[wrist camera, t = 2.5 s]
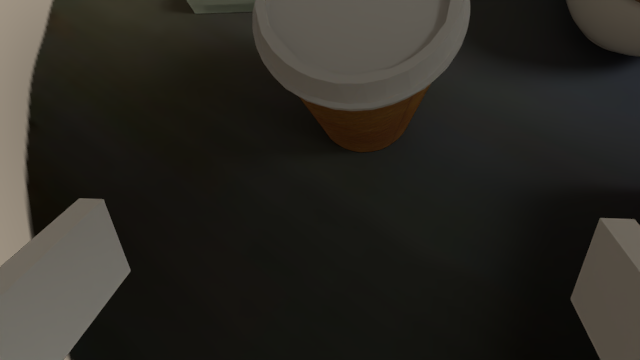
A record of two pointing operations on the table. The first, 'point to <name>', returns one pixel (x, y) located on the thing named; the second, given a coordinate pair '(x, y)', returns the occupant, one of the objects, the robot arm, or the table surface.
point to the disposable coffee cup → (359, 59)
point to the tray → (221, 6)
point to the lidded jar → (609, 23)
